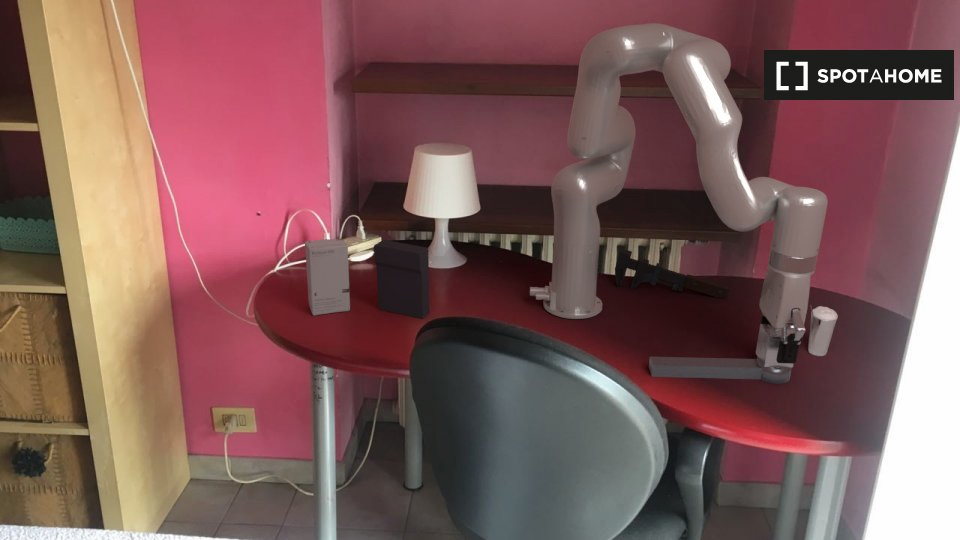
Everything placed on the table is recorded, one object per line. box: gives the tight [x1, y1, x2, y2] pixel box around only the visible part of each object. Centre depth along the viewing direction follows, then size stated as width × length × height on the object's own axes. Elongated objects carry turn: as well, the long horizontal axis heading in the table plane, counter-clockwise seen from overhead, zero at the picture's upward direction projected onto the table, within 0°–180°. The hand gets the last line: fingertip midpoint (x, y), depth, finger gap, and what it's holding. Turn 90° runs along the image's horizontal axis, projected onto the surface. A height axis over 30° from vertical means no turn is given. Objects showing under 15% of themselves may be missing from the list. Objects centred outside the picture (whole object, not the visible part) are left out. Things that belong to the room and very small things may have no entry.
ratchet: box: [648, 356, 793, 385], centre depth 137 cm, size 25×6×6 cm, turn 88°
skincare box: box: [304, 238, 351, 317], centre depth 159 cm, size 8×6×15 cm
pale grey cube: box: [755, 323, 794, 368], centre depth 135 cm, size 5×5×6 cm
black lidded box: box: [373, 239, 431, 320], centre depth 158 cm, size 11×4×15 cm, turn 65°
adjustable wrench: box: [614, 248, 730, 300], centre depth 171 cm, size 8×3×25 cm
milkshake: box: [807, 304, 839, 357], centre depth 144 cm, size 5×5×10 cm
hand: (776, 349), depth 136 cm, fingers open, 9 cm apart
